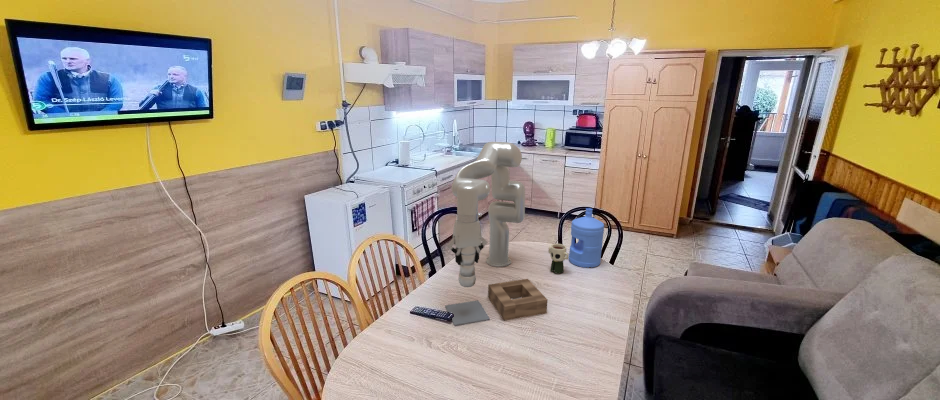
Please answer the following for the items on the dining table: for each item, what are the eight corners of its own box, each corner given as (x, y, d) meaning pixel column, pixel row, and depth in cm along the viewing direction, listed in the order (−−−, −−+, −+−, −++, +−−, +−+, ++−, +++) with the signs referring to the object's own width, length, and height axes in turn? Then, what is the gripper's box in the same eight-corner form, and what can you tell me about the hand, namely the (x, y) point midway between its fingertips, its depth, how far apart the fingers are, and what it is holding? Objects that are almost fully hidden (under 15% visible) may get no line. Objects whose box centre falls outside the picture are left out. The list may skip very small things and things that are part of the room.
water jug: (596, 255, 209) (602, 204, 201) (603, 269, 194) (609, 214, 186) (566, 254, 211) (570, 203, 203) (570, 267, 196) (575, 213, 188)
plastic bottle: (474, 290, 149) (475, 240, 143) (456, 288, 150) (456, 238, 145) (477, 282, 155) (478, 234, 149) (460, 280, 156) (460, 232, 151)
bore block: (487, 297, 168) (488, 284, 166) (526, 291, 173) (527, 278, 172) (504, 320, 152) (504, 306, 150) (546, 313, 157) (547, 299, 155)
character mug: (543, 270, 193) (544, 245, 189) (551, 265, 198) (553, 241, 194) (562, 277, 185) (564, 252, 182) (570, 273, 190) (573, 247, 186)
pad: (445, 306, 161) (445, 305, 160) (478, 301, 165) (478, 300, 164) (454, 326, 148) (454, 324, 148) (489, 319, 152) (490, 318, 152)
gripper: (486, 212, 151) (485, 256, 156) (442, 216, 146) (442, 261, 151) (493, 218, 144) (492, 264, 149) (447, 222, 139) (447, 269, 144)
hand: (467, 262), depth 150 cm, fingers closed on plastic bottle, 6 cm apart
